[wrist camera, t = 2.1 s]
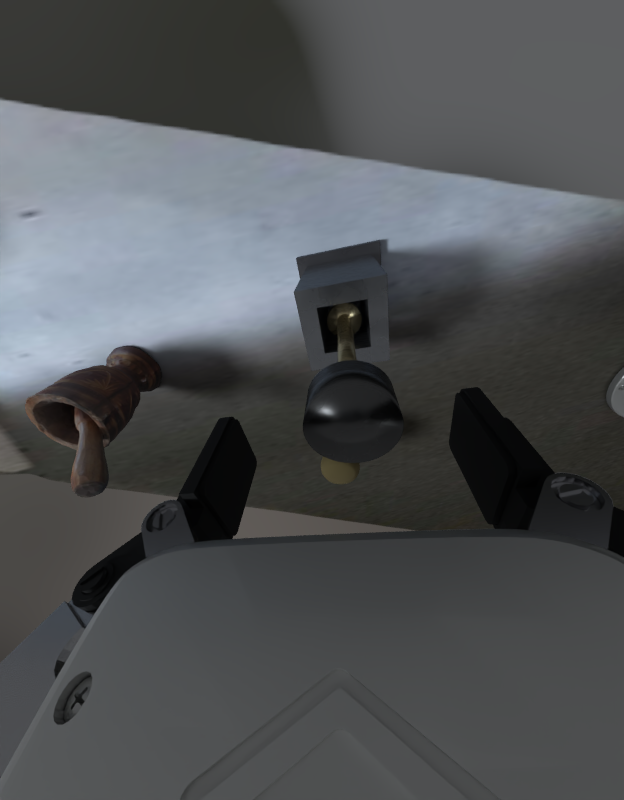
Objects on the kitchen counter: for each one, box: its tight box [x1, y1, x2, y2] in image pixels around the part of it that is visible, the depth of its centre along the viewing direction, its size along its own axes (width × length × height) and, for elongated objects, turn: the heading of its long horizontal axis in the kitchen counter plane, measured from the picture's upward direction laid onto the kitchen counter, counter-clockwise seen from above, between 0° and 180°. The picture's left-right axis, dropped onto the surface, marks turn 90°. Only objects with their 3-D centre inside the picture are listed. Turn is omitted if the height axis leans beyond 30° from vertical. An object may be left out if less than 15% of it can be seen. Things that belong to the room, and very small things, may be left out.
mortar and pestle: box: [25, 346, 161, 497], centre depth 32 cm, size 12×9×20 cm
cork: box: [321, 456, 360, 484], centre depth 39 cm, size 6×6×11 cm
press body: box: [294, 240, 390, 371], centre depth 27 cm, size 9×11×12 cm
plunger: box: [303, 302, 404, 463], centre depth 18 cm, size 4×4×15 cm
